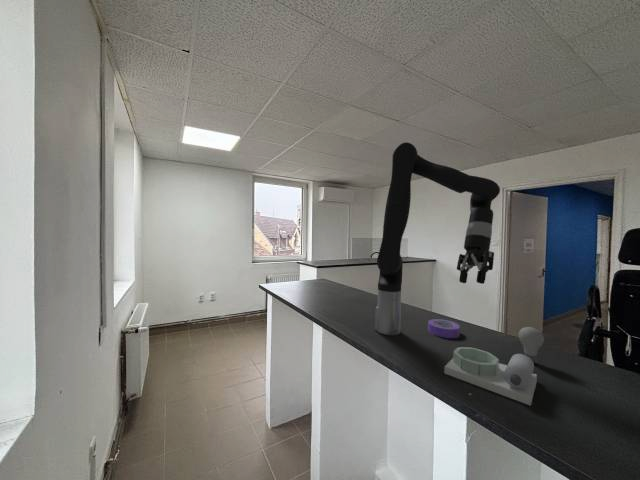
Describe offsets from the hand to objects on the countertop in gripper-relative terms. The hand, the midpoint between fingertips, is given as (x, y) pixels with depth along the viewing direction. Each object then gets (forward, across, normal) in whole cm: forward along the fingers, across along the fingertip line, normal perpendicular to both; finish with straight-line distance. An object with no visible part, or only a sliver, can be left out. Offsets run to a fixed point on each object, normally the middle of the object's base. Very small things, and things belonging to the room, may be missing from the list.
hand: (471, 282), depth 84 cm
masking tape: (+20, -22, +8) cm, 31 cm away
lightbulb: (+20, +3, +21) cm, 29 cm away
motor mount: (+26, +10, +2) cm, 28 cm away
